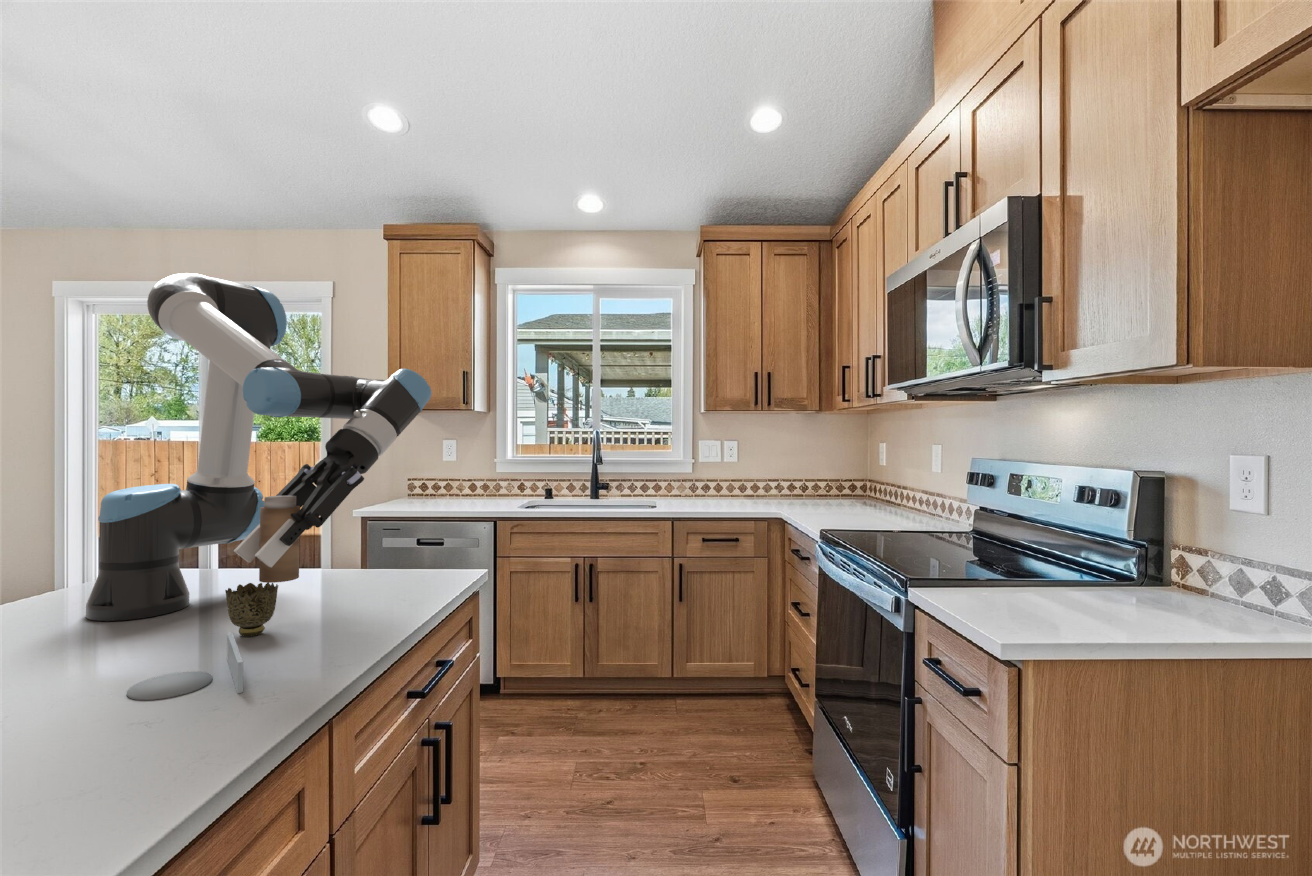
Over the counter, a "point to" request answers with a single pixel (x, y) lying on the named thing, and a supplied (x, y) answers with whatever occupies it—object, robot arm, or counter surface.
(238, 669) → the acrylic wall
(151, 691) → the coaster
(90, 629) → the counter surface
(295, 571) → the pepper mill
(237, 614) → the cup
